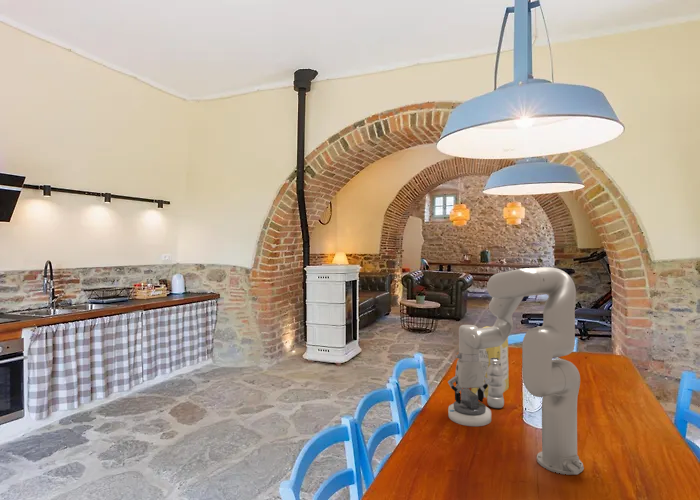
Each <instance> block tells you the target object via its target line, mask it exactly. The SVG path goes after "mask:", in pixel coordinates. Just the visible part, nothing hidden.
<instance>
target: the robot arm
mask: <svg viewBox="0 0 700 500" xmlns="http://www.w3.org/2000/svg"><path fill="white" fill-rule="evenodd" d="M486 285H487V286H486V290H487V293H488V294H489V296H490V297H491V300H490V301H489V304H488V310H489V312H490V313H491V314H492V315H493V316H494V317H496V318H497V319H496V320H495V322H494V323H493V325H492V326H489V327H486V328H483V327H478V326H477V325H474V324H461V325H460V326H459V327H458V354H455V358H456V359H457V361H456V366H455V376H453V377H452V378H450V379H449V380H448V381H447V383H448V385H449V387H450V389H452V391H454V400H455V401H456V402H458V403H459V404H460V403H461V389H464V388H468V389H471V388H479V389H478V401H479V402H481V403H484V399H485V397H484V391H485V389H486V388H487V387H488V384H489V382H490V379H488V378H486V377H485V376H484V375H483V367H482V363H481V361H480V360H479V349H486V348H491V347H498V346H500V345H502V344H503V343H504V342H505V341H506V339H507V338H508V339H509V336H510V335H511V333H512V331H513V325H514V323H513V322H514V321H513V320H514V319H513V314H514V313H515V312H516V310H517V308H518V307H519V305H520V304H521V302H522V300H523V299H524V297H530V296H531V297H532V296H542V295H546V296H548V297H547V300H546V301H545V304H544V306H543V322H542V325H541V326H536V327H532V328H530V329H529V330H527V331H526V333H525V334H524V336H523V339H522V345H521V346H522V347H521V348H522V349H521V351H522V354H521V358H522V362H521V363H522V364H521V365H522V369H521V370H522V374H521V375H522V381H523V385H524V387H525V389H526V391H527V392H528V393H529V394H531V395H532V396H534V397H538V398H542V400H541V451H539V452H538V453H537V454H536V461H537V464H538V465H540V466H541V467H542V468H544V469H545V468H546V469H545V470H547V471H550V472H552V473H555V472H556V474H559V473H560V474H559V475H565V474H566V475H567V476H569V475H570V476H573V475H575V476H576V475H579V474H580V473H582V472H583V471H584V469H585V467H584V463H583V462H582V460H581V459H580V456H579V455H578V397H579V396H578V395H579V390H580V385H581V375H580V372H579V369H578V368H577V366H576V365H575V364H574V363H573V362H571V361H569V360H566V359H561V357H564V356H565V357H566V356H568V355H570V354H572V352H573V351H574V350H575V345H576V344H575V343H576V336H575V335H576V315H575V314H576V312H575V310H576V299H577V291H576V290H577V289H576V285H575V282H574V280H573V278H572V276H570V275H569V274H568V272H565V271H564V270H562V269H560V268H558V267H557V268H556V267H550V266H546V267H545V266H544V267H543V266H541V267H529V268H528V267H525V268H518V269H513V270H509V271H503V272H498V273H494V274H493V275H492V276H491V277H489V279H488V281H487V283H486ZM557 358H558V359H557ZM484 380H485V382H484ZM454 383H455V385H454Z"/></svg>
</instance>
